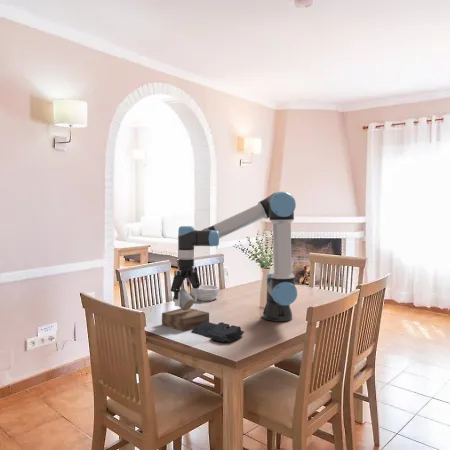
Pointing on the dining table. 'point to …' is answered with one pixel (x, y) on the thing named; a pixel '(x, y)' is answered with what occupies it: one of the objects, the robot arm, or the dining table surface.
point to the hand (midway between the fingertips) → (185, 303)
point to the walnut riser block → (184, 318)
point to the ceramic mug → (185, 299)
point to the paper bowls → (207, 292)
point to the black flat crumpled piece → (218, 331)
